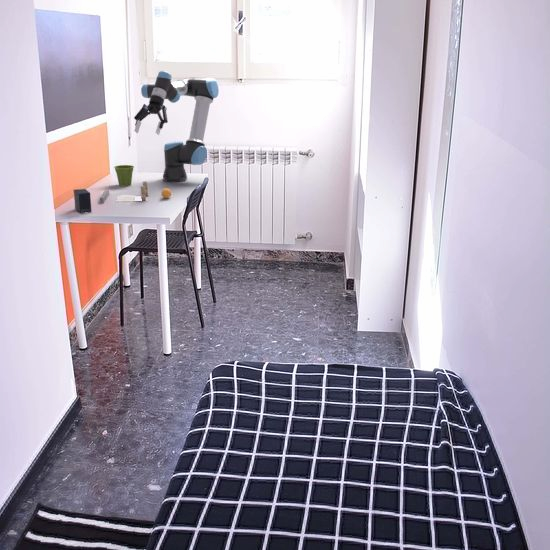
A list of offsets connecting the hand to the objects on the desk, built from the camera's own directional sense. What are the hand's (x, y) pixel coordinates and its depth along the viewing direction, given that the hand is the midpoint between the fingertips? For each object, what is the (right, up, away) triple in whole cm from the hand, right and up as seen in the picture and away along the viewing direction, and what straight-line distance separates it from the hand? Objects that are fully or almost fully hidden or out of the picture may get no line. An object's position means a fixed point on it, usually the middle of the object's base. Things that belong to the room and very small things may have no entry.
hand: (146, 132), depth 360 cm
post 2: (-2, -36, +5) cm, 37 cm away
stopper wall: (-25, -35, +9) cm, 44 cm away
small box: (-30, -44, -15) cm, 55 cm away
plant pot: (-21, -23, +42) cm, 52 cm away
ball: (+9, -31, +11) cm, 34 cm away
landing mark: (-11, -34, +10) cm, 38 cm away
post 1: (-3, -32, +16) cm, 36 cm away
